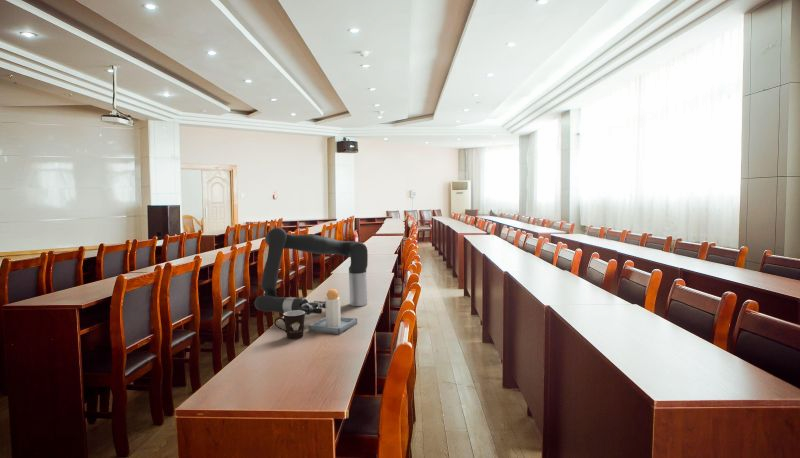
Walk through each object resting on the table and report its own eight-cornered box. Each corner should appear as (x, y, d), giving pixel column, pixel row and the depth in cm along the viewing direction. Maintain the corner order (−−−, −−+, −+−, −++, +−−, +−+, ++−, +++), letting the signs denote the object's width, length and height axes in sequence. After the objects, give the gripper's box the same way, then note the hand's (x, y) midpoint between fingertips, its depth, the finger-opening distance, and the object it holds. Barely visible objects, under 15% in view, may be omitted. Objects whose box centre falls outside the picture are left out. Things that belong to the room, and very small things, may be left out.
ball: (330, 298, 196) (330, 287, 196) (340, 299, 194) (340, 288, 194) (324, 301, 191) (324, 289, 191) (334, 302, 189) (334, 290, 189)
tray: (328, 320, 204) (328, 315, 204) (357, 323, 198) (357, 318, 198) (309, 331, 189) (308, 325, 189) (339, 334, 183) (339, 328, 183)
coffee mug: (308, 333, 185) (307, 310, 184) (302, 340, 177) (301, 316, 176) (281, 333, 186) (280, 310, 185) (274, 340, 178) (272, 315, 177)
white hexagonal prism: (331, 322, 197) (330, 296, 196) (342, 323, 195) (342, 297, 194) (324, 326, 192) (323, 299, 191) (336, 327, 190) (335, 300, 189)
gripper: (285, 301, 193) (317, 304, 187) (304, 294, 206) (334, 296, 200) (286, 318, 194) (318, 321, 188) (304, 310, 207) (335, 313, 201)
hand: (326, 308), depth 194 cm, fingers open, 8 cm apart
